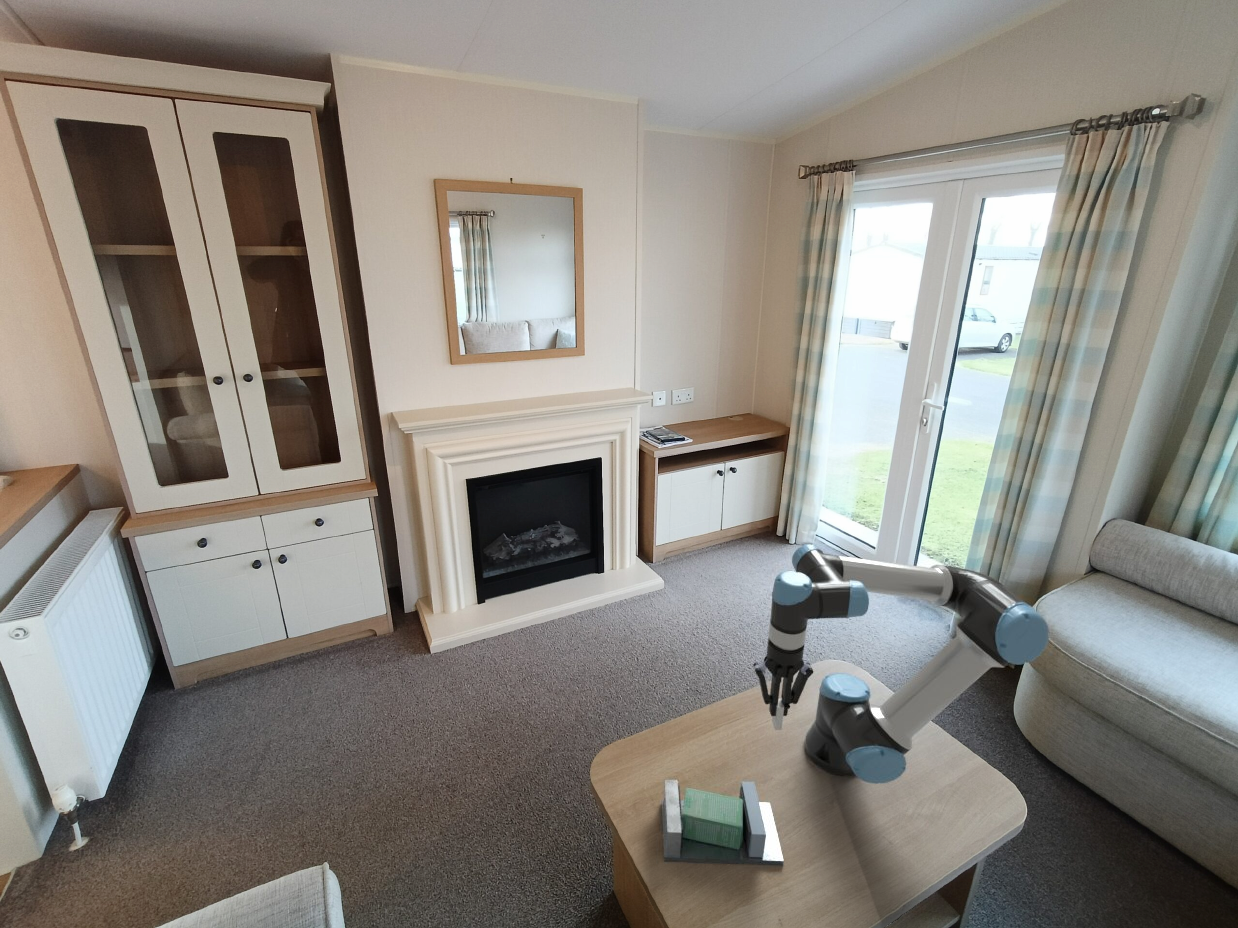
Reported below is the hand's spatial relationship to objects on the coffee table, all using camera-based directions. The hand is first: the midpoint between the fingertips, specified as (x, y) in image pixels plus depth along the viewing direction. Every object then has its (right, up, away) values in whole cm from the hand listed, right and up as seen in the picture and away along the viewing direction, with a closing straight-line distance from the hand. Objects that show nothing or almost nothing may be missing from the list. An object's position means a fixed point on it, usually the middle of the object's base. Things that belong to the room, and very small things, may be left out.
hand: (776, 725), depth 130 cm
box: (-15, -24, 0) cm, 28 cm away
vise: (-13, -25, +1) cm, 28 cm away
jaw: (-6, -24, 0) cm, 25 cm away
